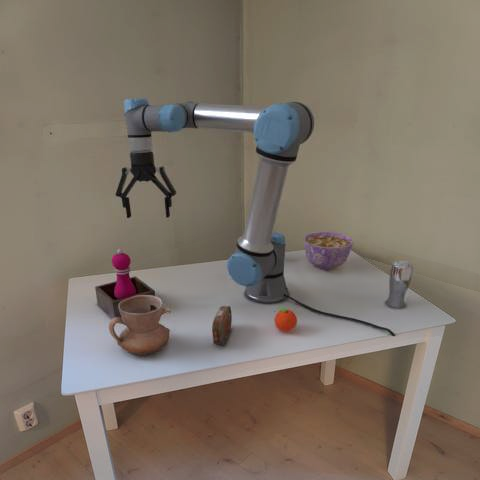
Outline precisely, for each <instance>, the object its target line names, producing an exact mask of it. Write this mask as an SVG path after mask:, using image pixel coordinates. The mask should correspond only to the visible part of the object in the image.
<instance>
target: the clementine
mask: <svg viewBox="0 0 480 480" xmlns="http://www.w3.org/2000/svg"><path fill="white" fill-rule="evenodd" d="M277 311H278V312H277ZM276 312H277V313H276ZM274 313H276V314H275V316H274V325H275V326H276V329H278V330H279V331H281V332H285V333H288V332H291V331H293V330H294V329H295V328H296V327H297V323H298V317H297V315H296V313H295V312H294V311H292V310H291V309H288V308H277V309H276V310H275V311H274Z"/></svg>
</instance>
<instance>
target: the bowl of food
mask: <svg viewBox="0 0 480 480" xmlns="http://www.w3.org/2000/svg"><path fill="white" fill-rule="evenodd" d="M303 244H304V251H305V257H306V259H307V261H308V262H309V264H311V265H312V266H314V267H316V268H317V269H320V270H323V271H332V270H334V269H336V268H339V267H343V266H344V264H345V263H346V262H347V260H348V258H349V256H350V253H351V251H352V248H353V245H354V239H353V238H352V237H350V236H348V235H347V234H343V233H339V232H331V231H317V232H311V233H308V234H306V235H304V237H303Z"/></svg>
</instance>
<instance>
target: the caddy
mask: <svg viewBox="0 0 480 480" xmlns="http://www.w3.org/2000/svg"><path fill="white" fill-rule="evenodd" d="M130 279H131V282H132V283H133V285H134V287H135V289H136V295H133V296H130V297H134V296H138V295H152V296H156V290H154V288H153V287H151V286H149V285H148V284H147V283H146V282H144V281H143V280H141V279H140V278H138V277H137V276H130ZM116 283H117V280H115V281H112V282H108V283H104V284H100V285H95V286H94V289H95V297H96V302H97V305H98V306H99V307H100V308H101V309H102V310H103V311H104V312H105V313H106V314H107V315H108V316H109V317H110V318H111V320H112V319H113V318H116V317H120V318H121V314H120V312H119V308H118V305H119V303H120V302H121V301H123V300H125V299H127V298H130V297H126V298H123V299H119V300H118V299H117V298H116V297H115V295H114V290H115V286H116ZM150 309H151V311H155V310H157V309H158V308H157V307H155V306H153V305H150Z"/></svg>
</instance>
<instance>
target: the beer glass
mask: <svg viewBox="0 0 480 480" xmlns="http://www.w3.org/2000/svg"><path fill="white" fill-rule="evenodd" d="M413 268H414V264H413V263H411V262H410V261H405V260H394V261H393V262H392V265H391V268H390V272H389V278H388V285H389V287H388V289H389V291H388V298H387V299H386V301H385V305H386V306H388V307H389V308H392V309H402V308H404V307H405V300H406V299H405V298H406V294H407V291H408V289H409V286H410V284H411V281H412V277H413Z"/></svg>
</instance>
